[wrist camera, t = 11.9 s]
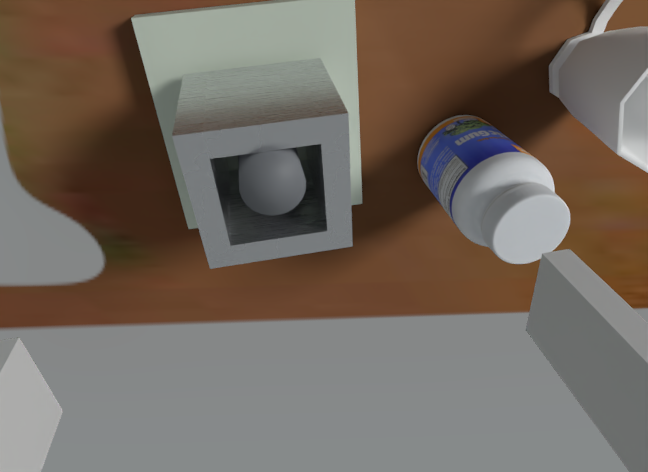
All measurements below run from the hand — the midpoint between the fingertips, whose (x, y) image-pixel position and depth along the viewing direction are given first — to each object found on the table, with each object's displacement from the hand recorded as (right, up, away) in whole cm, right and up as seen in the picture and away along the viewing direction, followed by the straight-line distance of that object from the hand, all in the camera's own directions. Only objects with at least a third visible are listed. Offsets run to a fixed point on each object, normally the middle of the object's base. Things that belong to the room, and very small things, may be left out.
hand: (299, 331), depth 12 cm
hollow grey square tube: (-3, +8, +14) cm, 17 cm away
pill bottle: (+9, +8, +19) cm, 22 cm away
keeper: (-3, +9, +15) cm, 18 cm away
